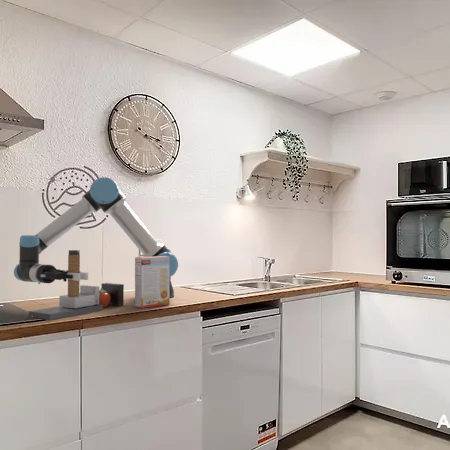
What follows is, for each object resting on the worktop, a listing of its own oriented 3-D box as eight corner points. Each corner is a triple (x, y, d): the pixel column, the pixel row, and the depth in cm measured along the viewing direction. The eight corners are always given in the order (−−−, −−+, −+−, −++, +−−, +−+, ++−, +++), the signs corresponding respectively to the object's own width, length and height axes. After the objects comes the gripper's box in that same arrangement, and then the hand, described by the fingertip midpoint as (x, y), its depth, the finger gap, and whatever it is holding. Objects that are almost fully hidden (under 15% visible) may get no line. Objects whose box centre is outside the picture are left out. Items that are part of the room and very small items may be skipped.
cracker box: (162, 303, 192) (162, 255, 192) (169, 305, 187) (170, 256, 188) (133, 306, 183) (134, 256, 183) (141, 308, 178) (141, 257, 179)
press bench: (104, 303, 190) (105, 282, 191) (125, 305, 184) (125, 284, 184) (28, 316, 159) (29, 291, 159) (50, 320, 152) (50, 294, 153)
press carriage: (83, 302, 178) (84, 249, 179) (99, 304, 174) (99, 250, 174) (59, 306, 168) (60, 250, 169) (74, 308, 164) (75, 250, 164)
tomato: (111, 305, 185) (111, 286, 185) (109, 308, 178) (110, 288, 178) (93, 305, 184) (93, 286, 184) (91, 308, 177) (91, 289, 177)
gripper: (60, 281, 185) (99, 284, 173) (25, 284, 171) (66, 288, 159) (60, 263, 185) (99, 265, 173) (26, 265, 171) (66, 268, 159)
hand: (83, 276), depth 166 cm, fingers closed on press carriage, 3 cm apart
